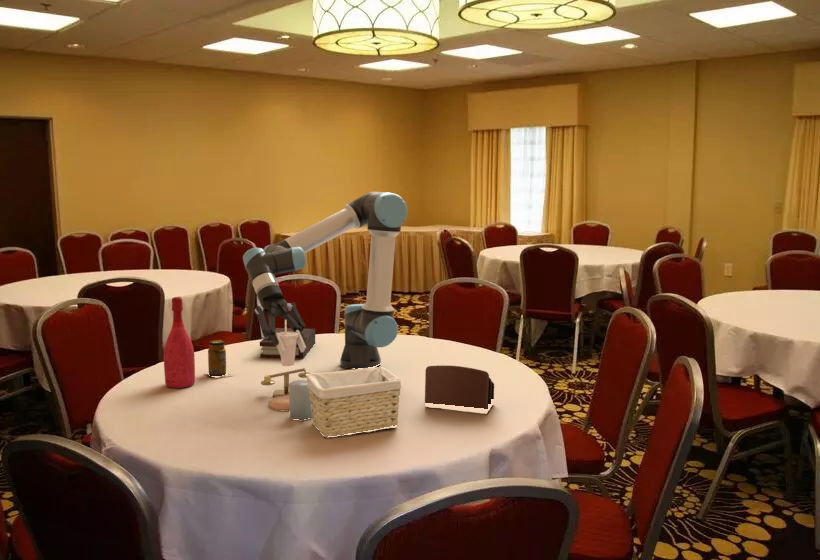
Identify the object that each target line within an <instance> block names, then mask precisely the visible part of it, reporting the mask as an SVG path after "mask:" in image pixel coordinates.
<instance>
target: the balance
mask: <svg viewBox="0 0 820 560" xmlns="http://www.w3.org/2000/svg"><path fill="white" fill-rule="evenodd" d="M296 373H298V374H297V376H298V378H304V379H307V375H308V374H312V372H308V371H306V368H305V367H303V368H298V369H294V370H288V371H284V372H279V373H274V374H264V377H263V380H261V381H260V385H262V386H273V385H275V383H276V381H275V380H273V379H272V378H277V377H278V378H279V377H282V376H283V384H284V386H283V389H275V390H274V392H273V394H272V398H274V397H277V396H282V395H289V383H290V375H291V374H292V375H293V374H296Z"/></svg>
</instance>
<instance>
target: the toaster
mask: <svg viewBox="0 0 820 560" xmlns="http://www.w3.org/2000/svg"><path fill="white" fill-rule="evenodd" d="M489 374H490V373H488V372H487V371H485V370H481V369H478V368H473V367H472V368H471V367H465V366H461V365H460V366H459V365H445V364H444V365H443V364H441V365H429V366H426V368H425V377H424V378H425V379H424V380H425V381H424V382H425V385H424V404H425V403H433V404H445V405H455V406H464V407H474V408H484V409H488V404H491V399H494V400H495V382H494V381H493V380H492V378H490V375H489Z"/></svg>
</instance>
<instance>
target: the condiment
mask: <svg viewBox="0 0 820 560" xmlns="http://www.w3.org/2000/svg"><path fill="white" fill-rule="evenodd" d="M225 346H226V345H225V341H224V340H221V339H219V340H218V339H217V340H215V339H214V340H210V341H209V343H208V350H207V357H208V358H207V362H208V366H207V367H208V373H209V375H210V376H208V377H209V378H211V376H222V375H225V374H226V372H227V352H226V351H227V350H226V347H225ZM227 373H228V376H229V375H230V376H229V377H232V376H233V377H234V375H233V374H231V373H229V372H227ZM228 376H225V377H224V378H228ZM211 379H216V378H215V377H212V378H211ZM218 379H222V378H221V377H219V378H218Z"/></svg>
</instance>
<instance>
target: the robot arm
mask: <svg viewBox="0 0 820 560" xmlns="http://www.w3.org/2000/svg"><path fill="white" fill-rule="evenodd" d="M408 212H409V210H408V206H407V203H406V201H405V200H404V199H403V198H402V197H401V196H400V195H399V194H397V193H393V192H389V191H387V192H386V191H371V192H367V193H366V194H363V195H361V196H359V197H357V198H356V199H354V200H352V201H350V202H348V203H346V204H345V205H344V207H343V208H342V209H341V210H339V211H338V212H336V213H335V212H334V213H333V214H332V215H329V216H328V217H326V218H324V219H321V220H320V221H318V222H316V223H314V224H312V225H310V226H308V227H306V228H305V229H302V230H301V231H299V232H296V233H294V234H292V235H291V236H288V237H286V238H285V239H283V240H281V241H279V242H277V243H275V244H274V243H272V244H268V245H266V246H264V248H261V247H252V248H249V249H248V250H246V252H244V254H243V256H242V260H243V264H244V269H245V271H246V272H247V274H248V276H249V279H250V281H251V284H252V286H253V288H254V292H255V294H256V296H257V299H258V302H259V304H260V306H259V305H257V306H255V309H254V311H253V312H254V314H255V316H256V317H257V320H258V323H259V326H260V330H261V333H262V336H263V337H264V336H265V337H266V336H269V337H268V338H269V339H271V340H272V342H273V344H274V346H277V348H278V351H279V353H280V356H282V355H283V354H284V353H285V351H286V350H285V348H284V345H283V343H282V340H281V338H280V335H279V333H276V334H275V328H276V317H280V318H281V319H283V320H284V321H285V320H287V325H288V326H289V328H292V330H293V331H294V332H296V333H298V337H297V344H298V346H299V349H300V351H301V352H304V350H305V349H306V346H305V343H304V341H303V340H304V336H303V333H302V331H303V330H304V329H306V323H305V321H304V320H303V318H302V316H301V315H300V313H299V311H298V309H297V304H296V302H295V301H292V302H291V303H290V302H287V301H286V300H285V299H284V295H283V292H282V289H281V288H280V286H279V283H278V281H277V278H276V275H281V274H285V273H289V272H296V271H298V270H299V271H300V270H302V269H304V268H305V267H307V266H306V265H307V256H306V253H308V252H310V251H312V250H314V249H317V248H318V247H320V246H321V245H324V244H326V243H328V242H329V241H331V240H333V239H335V238H337V237H339V236H340V235H343V234H345V233H346V232H349V231H350V230H352V229H355V230H357V229H360V228H362V227H364V226H367V231H368V233H369V234H370V247H369V249H370V250H369V261H368V274H367V275H368V276H367V291H366V301H365V303H355V304H354V303H353V304H348V305H346V306H345V308H344V347H343V350H342V353H341V356H340V360H339V363H340V364H341V365H340V364H339V365H340V366H341V367H342V366H343V367H342V368H344V367H346V368H345V369H347V368H355V369H358V368H368V367H373V366H376V365H378V364H380V363H381V361H382V359H381V355H380V353H379V350H378V349H379V348H384V347H387V346H390V345H391V344H392V343H393V342H394V341H395V340H396V338H397V336H398V333H399V325H398V323H397V322H396V321H397V320H395V318H394V317H395V316H394V315H395V308H394V307H393V306H392V304H391V301H392V286H393V275H394V264H395V263H394V262H395V251H396V237H398V235H400V234H401V230H402V225H403V223H404V222H406V219H407V217H408ZM264 312H265V313H266V314H267V317H266V315H265V313H264ZM266 318H267V319H268V322H267V320H266ZM265 337H264V338H265ZM381 364H382V363H381Z"/></svg>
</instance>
